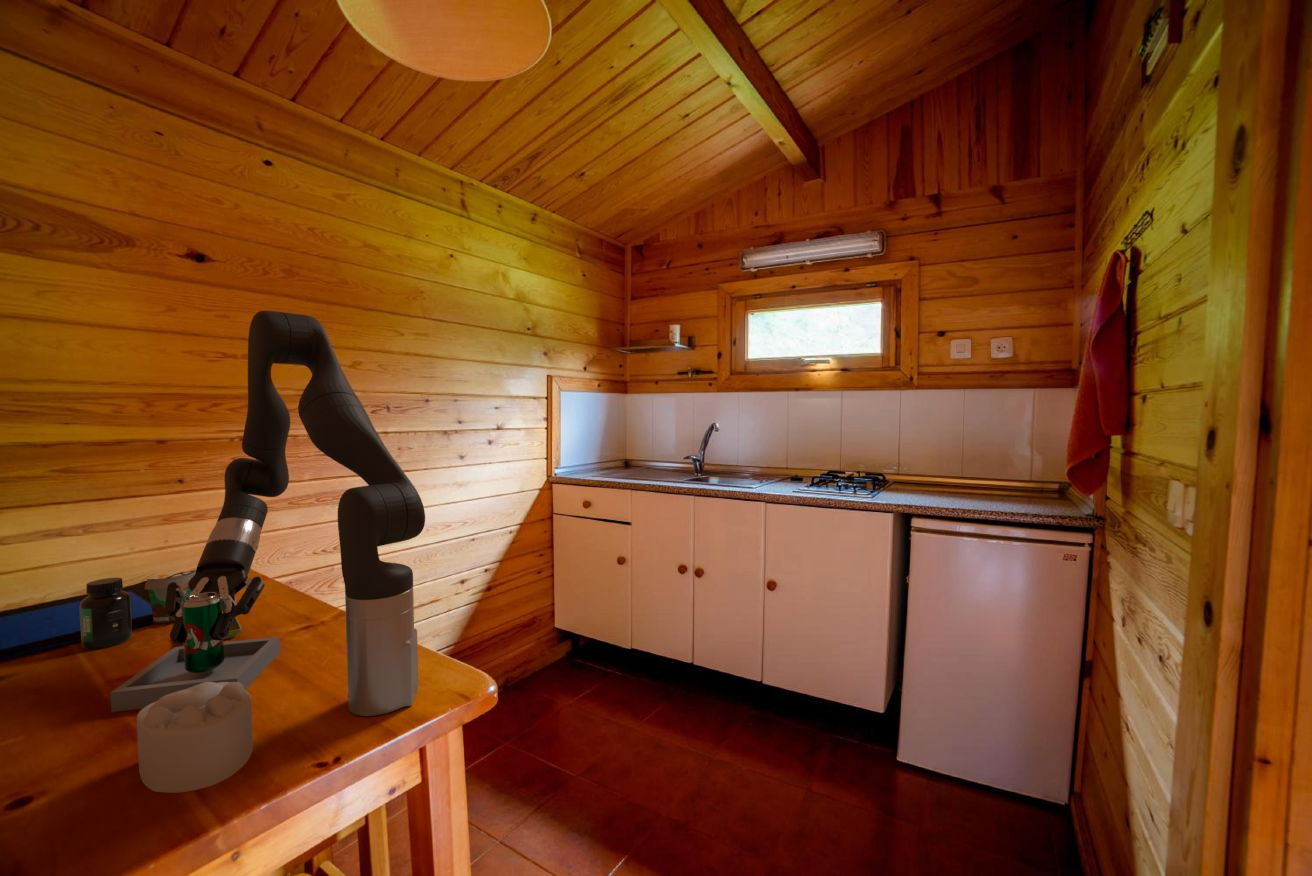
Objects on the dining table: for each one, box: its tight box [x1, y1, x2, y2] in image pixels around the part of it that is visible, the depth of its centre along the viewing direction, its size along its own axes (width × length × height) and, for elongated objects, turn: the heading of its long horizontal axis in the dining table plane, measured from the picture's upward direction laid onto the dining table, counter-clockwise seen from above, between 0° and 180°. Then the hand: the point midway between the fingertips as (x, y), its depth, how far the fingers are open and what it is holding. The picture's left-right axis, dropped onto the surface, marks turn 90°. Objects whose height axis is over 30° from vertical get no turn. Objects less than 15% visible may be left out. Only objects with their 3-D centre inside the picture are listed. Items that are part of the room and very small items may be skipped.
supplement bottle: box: [79, 577, 133, 651], centre depth 104 cm, size 7×7×12 cm
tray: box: [110, 636, 281, 713], centre depth 89 cm, size 16×16×3 cm
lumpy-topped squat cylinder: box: [136, 682, 254, 794], centre depth 68 cm, size 10×13×9 cm
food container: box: [144, 569, 196, 626], centre depth 116 cm, size 12×6×10 cm, turn 168°
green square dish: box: [224, 616, 243, 640], centre depth 107 cm, size 9×9×2 cm
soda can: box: [182, 592, 225, 673], centre depth 89 cm, size 5×5×12 cm
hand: (197, 640), depth 87 cm, fingers closed on soda can, 5 cm apart
